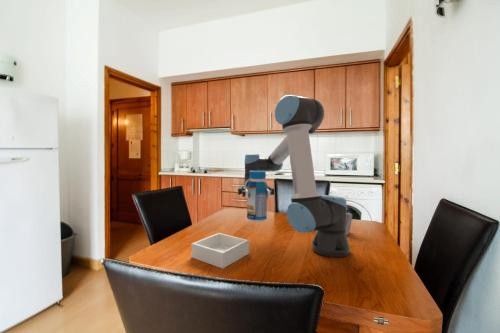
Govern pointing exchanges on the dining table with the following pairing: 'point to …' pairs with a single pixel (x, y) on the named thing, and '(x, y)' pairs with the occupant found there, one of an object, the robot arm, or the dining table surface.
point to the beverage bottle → (257, 196)
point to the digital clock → (348, 222)
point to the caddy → (220, 249)
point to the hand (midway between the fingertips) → (258, 194)
